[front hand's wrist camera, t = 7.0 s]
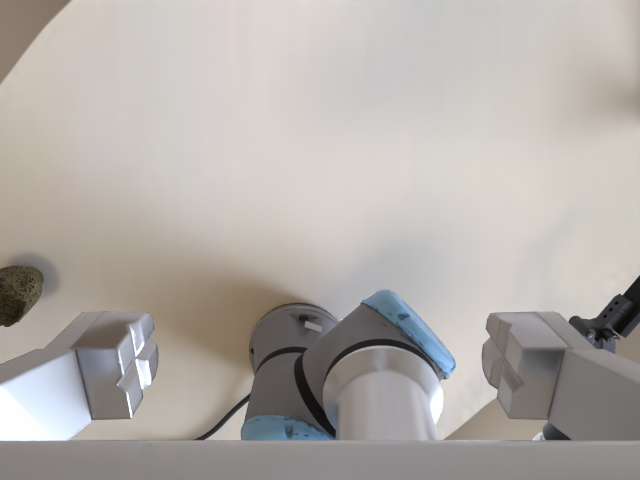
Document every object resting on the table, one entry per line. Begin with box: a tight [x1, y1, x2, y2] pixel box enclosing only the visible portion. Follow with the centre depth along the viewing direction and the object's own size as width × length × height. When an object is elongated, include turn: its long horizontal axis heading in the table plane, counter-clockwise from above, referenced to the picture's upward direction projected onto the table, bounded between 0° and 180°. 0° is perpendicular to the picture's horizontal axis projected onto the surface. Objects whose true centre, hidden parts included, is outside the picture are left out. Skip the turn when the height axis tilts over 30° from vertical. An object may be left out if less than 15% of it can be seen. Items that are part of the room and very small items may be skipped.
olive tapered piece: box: [0, 266, 43, 327], centre depth 59 cm, size 8×7×8 cm
